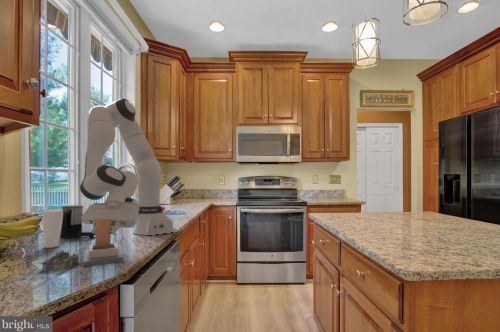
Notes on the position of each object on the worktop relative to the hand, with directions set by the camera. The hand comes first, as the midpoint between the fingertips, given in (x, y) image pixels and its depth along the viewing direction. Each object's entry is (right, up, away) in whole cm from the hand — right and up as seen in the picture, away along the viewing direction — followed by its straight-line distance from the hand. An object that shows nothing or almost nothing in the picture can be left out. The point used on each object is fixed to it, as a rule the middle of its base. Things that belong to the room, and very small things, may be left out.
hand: (102, 233), depth 99 cm
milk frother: (-29, -10, +31) cm, 44 cm away
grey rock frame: (-9, -9, -9) cm, 16 cm away
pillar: (0, -5, 0) cm, 5 cm away
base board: (0, -9, 0) cm, 9 cm away
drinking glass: (-28, -9, +13) cm, 32 cm away
